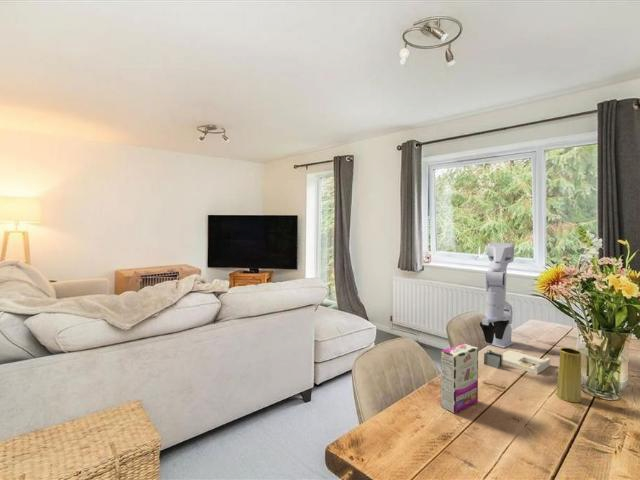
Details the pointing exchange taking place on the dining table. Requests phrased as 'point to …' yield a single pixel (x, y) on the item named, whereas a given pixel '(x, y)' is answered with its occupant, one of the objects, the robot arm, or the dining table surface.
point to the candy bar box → (459, 377)
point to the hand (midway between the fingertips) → (494, 340)
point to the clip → (493, 359)
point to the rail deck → (518, 358)
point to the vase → (569, 375)
